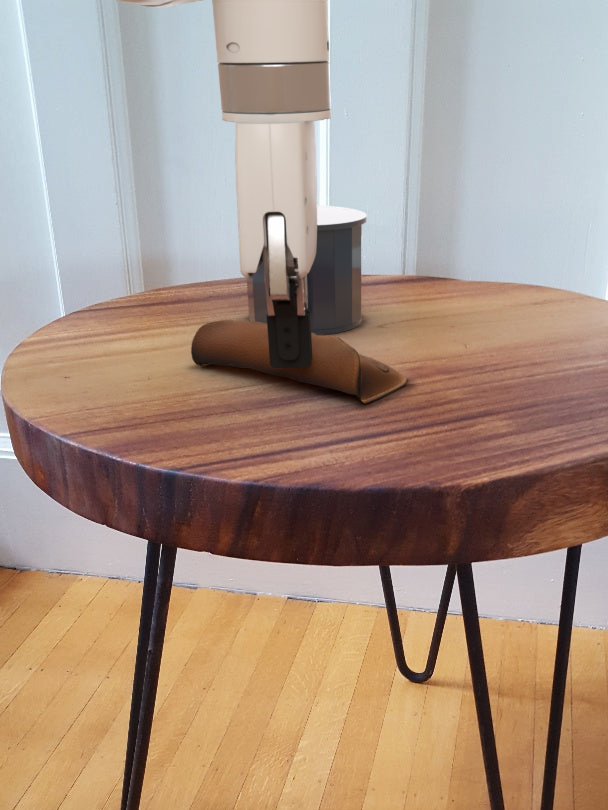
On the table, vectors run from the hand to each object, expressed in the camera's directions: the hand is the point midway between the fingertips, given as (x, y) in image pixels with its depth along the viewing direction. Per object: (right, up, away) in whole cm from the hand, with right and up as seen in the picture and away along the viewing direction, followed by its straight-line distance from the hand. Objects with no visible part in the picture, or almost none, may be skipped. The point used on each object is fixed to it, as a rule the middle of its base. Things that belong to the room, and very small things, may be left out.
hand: (291, 364), depth 75 cm
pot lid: (0, +20, +17) cm, 26 cm away
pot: (0, +12, +23) cm, 26 cm away
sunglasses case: (0, +1, +7) cm, 7 cm away
